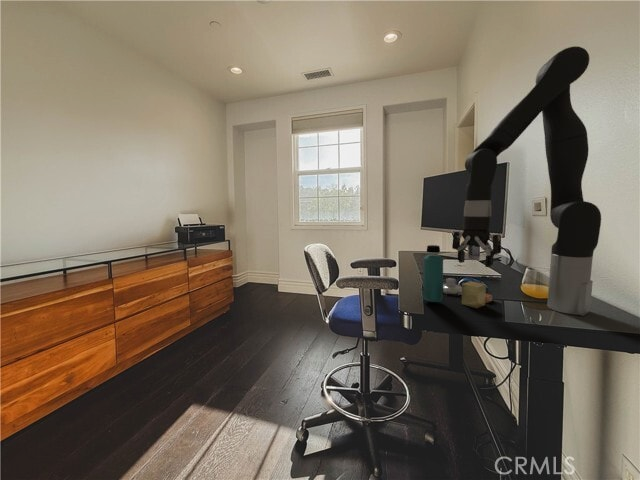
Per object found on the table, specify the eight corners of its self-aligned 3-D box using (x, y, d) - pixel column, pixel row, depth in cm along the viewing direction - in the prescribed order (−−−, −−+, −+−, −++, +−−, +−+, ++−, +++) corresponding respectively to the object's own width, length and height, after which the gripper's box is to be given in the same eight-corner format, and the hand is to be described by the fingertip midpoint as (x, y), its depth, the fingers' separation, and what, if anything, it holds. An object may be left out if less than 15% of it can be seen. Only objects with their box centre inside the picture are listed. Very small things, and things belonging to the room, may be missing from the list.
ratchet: (434, 291, 105) (435, 278, 104) (446, 287, 109) (447, 275, 108) (483, 304, 90) (484, 290, 89) (495, 299, 94) (495, 285, 93)
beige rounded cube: (484, 305, 89) (485, 284, 88) (476, 308, 86) (477, 287, 86) (469, 300, 93) (470, 281, 92) (461, 304, 91) (462, 283, 90)
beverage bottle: (446, 306, 89) (448, 246, 87) (426, 306, 89) (427, 247, 87) (437, 299, 96) (439, 243, 93) (419, 300, 96) (420, 244, 93)
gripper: (507, 215, 82) (503, 266, 84) (461, 214, 94) (459, 259, 96) (495, 216, 78) (491, 270, 80) (449, 214, 90) (447, 262, 92)
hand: (474, 264), depth 88 cm, fingers open, 8 cm apart
